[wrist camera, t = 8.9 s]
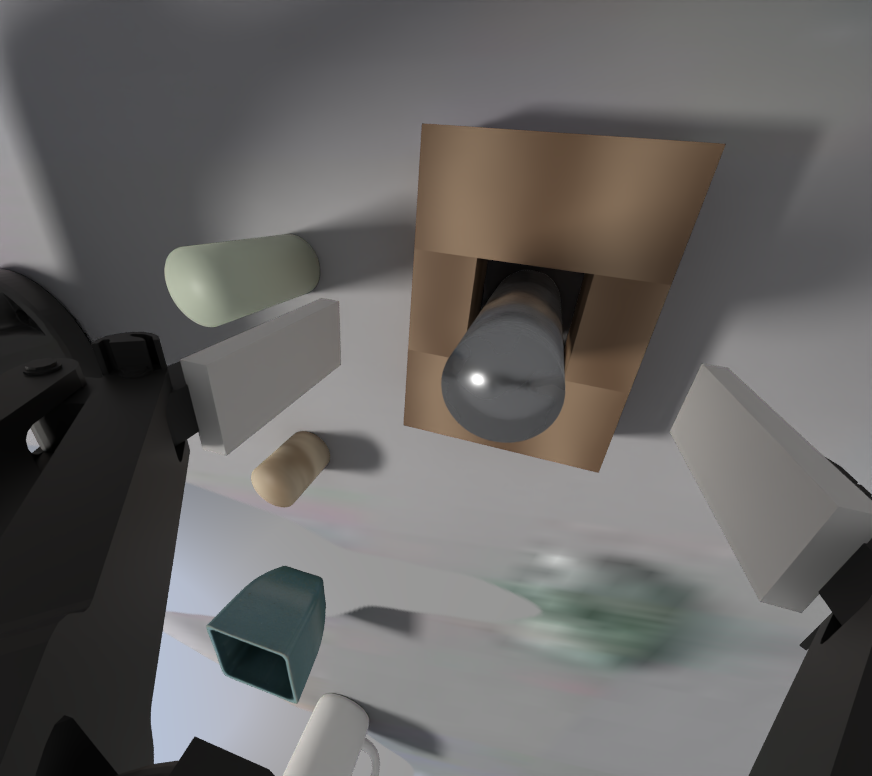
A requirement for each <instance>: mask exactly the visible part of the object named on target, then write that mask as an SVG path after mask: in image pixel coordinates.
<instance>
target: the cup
mask: <svg viewBox="0 0 872 776" xmlns="http://www.w3.org/2000/svg"><path fill="white" fill-rule="evenodd" d="M368 727H369V717H368V715H367V713H366V712H365V710H364V709H363V708H362V707H361V706H359V705H358V704H357V703H355V702H354V701H352V700H350V699H348V698H346V697H344V696H341V695H338V694H333V693H328V694H325V695H323V696H322V697H321V698H320V699H319V701H318V703H317V705H316V707H315V709H314V711H313V713H312V715H311V717H310V719H309V721H308V723H307V726H306V728H305V730H304V732H303V734H302V736H301V738H300V740H299V742H298V744H297V747H296V749H295V751H294V753H293V755H292V757H291V759H290V761H289V763H288V765H287V768H286V770H285V772H284V774H283V776H352V773H353V770H354V767H355V765H356V762H357V759H358V756H359V753H360V750H363V751H364V752H366V753H367V754H368V755H369V756H370V758H371V761H372V772H371V776H379V768H380V759H379V754H378V751H377V749H376V747H375V746H374V745H373V743H372V742H370V741H369V740H368V739H367V738H365V736H366V734H367V730H368Z"/></svg>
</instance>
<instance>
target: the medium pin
mask: <svg viewBox="0 0 872 776" xmlns="http://www.w3.org/2000/svg"><path fill="white" fill-rule="evenodd" d="M319 276H320V266H319V261H318V258H317V256H316V254H315V252H314V250H313V249H312V247H311V246H310V245H309V244H308V243H307V242H306V241H305V240H303V239H302V238H300V237H298V236H296V235H292V234H284V235H276V236H268V237H259V238H251V239H243V240H234V241H226V242H218V243H210V244H201V245H193V246H185V247H179V248H176V249H175V250H173V251H172V252H171V253H170V254H169V255H168V257H167V259H166V263H165V280H166V284H167V288H168V290H169V293H170V295H171V297H172V299H173V300H174V302H175V304H176V305H177V306H178V308H179V309H180V310H181V311H182V312H183V313H184V314H185V315H186V316H187V317H188V318H189V319H191V320H192V321H194V322H196V323H197V324H200V325H202V326H206V327H217V326H220V325H222V324H225V323H228V322H231V321H233V320H236V319H239V318H242V317H244V316H247V315H250V314H252V313H255V312H258V311H261V310H263V309H266V308H269V307H271V306H274V305H277V304H280V303H282V302H285V301H288V300H290V299H293V298H296V297H299V296H301V295H304V294H307V293H309V292H311V291H312V290H313V289H314V288H315V287H316V285H317V283H318V281H319Z"/></svg>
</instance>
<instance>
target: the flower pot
mask: <svg viewBox="0 0 872 776" xmlns="http://www.w3.org/2000/svg"><path fill="white" fill-rule="evenodd" d="M325 609H326V602H325V595H324V586H323V580H322V578H321V577H319V576H316V575H312V574H309V573H306V572H303V571H300V570H297V569H294V568H291V567H287V566H282V567H279V568H277V569H274V570H271V571H269V572H267V573H265V574H263V575H261V576H259V577H258V578H256V579H255V580H253V581H252V582H251V583H250V584H249V585H247V586H246V587H245V588H244V589H243V590H242V591H241V592H240V593H239V594H237V595H236V596H235V598H234V599H232V600H231V602H229V603H228V604H227V605H226V607H224V608H223V609H222V610H221V612H220V613H219V614H218V615H217V616H216V617H215V618H214V619H213V620H212V621H211V622H210V623H209V624H208V625H207V626H206V627H207V632H208V634H209V637H210V639H211V642H212V644H213V647H214V650H215V652H216V655H217V658H218V661H219V664H220V667H221V669H222V671H223V673H224V675H225V676H228V677H230V678H232V679H234V680H236V681H239V682H242V683H245V684H247V685H250V686H252V687H255V688H257V689H260V690H262V691H265V692H267V693H270V694H272V695H275V696H277V697H280V698H282V699H285V700H287V701H289V702H292V703H296V704H297V703H298V701H299V699H300V696H301V694H302V691H303V689H304V687H305V684H306V682H307V679H308V677H309V674H310V671H311V669H312V666H313V664H314V661H315V659H316V656H317V654H318V651H319V647H320V644H321V640H322V636H323V631H324V624H325Z"/></svg>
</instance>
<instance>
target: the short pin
mask: <svg viewBox="0 0 872 776" xmlns="http://www.w3.org/2000/svg"><path fill="white" fill-rule="evenodd" d="M329 461H330V452H329V449H328V447H327V445H326V444H325V443H324V441H323V440H322V439H320V438H319V437H318V436H316V435H315V434H313V433H310V432H306V431H300V432H297V433H295V434H294V435H293V436H291V437H290V438H289V439H288V440H287V441H286V442H285V443H284V444H282V445H281V446H280V447H279V448H278V449H277V450H276V451H275V452H273V453H272V454H271V455H270V456H269V457H268V458H267V459H266V460H265V461H263V462H262V463H261V464H260V465H259V466H258V467H257V468H256V469H254V470H253V472H252V475H251V481H252V484H253V487H254V488H255V490H256V492H257V493H258V494H259V495H260V496H261V497H262V498H263V499H264V500H266V501H267V502H269V503H270V504H272V505H275V506H278V507H289V506H291V505H292V504H293V503H294V502H295V501H296V500H297V499H298V498H299V497H300V495H301V494H302V493H303V492H304V491H305V490H306V489H307V487H308V486H309V485H310V484H311V483H312V482H313V480H314V479H315V478H316V477H317V476H318V475H319V474H320V472H321V471H322V470H323V469H324V468H325V467H326V466H327V464H328V463H329Z"/></svg>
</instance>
